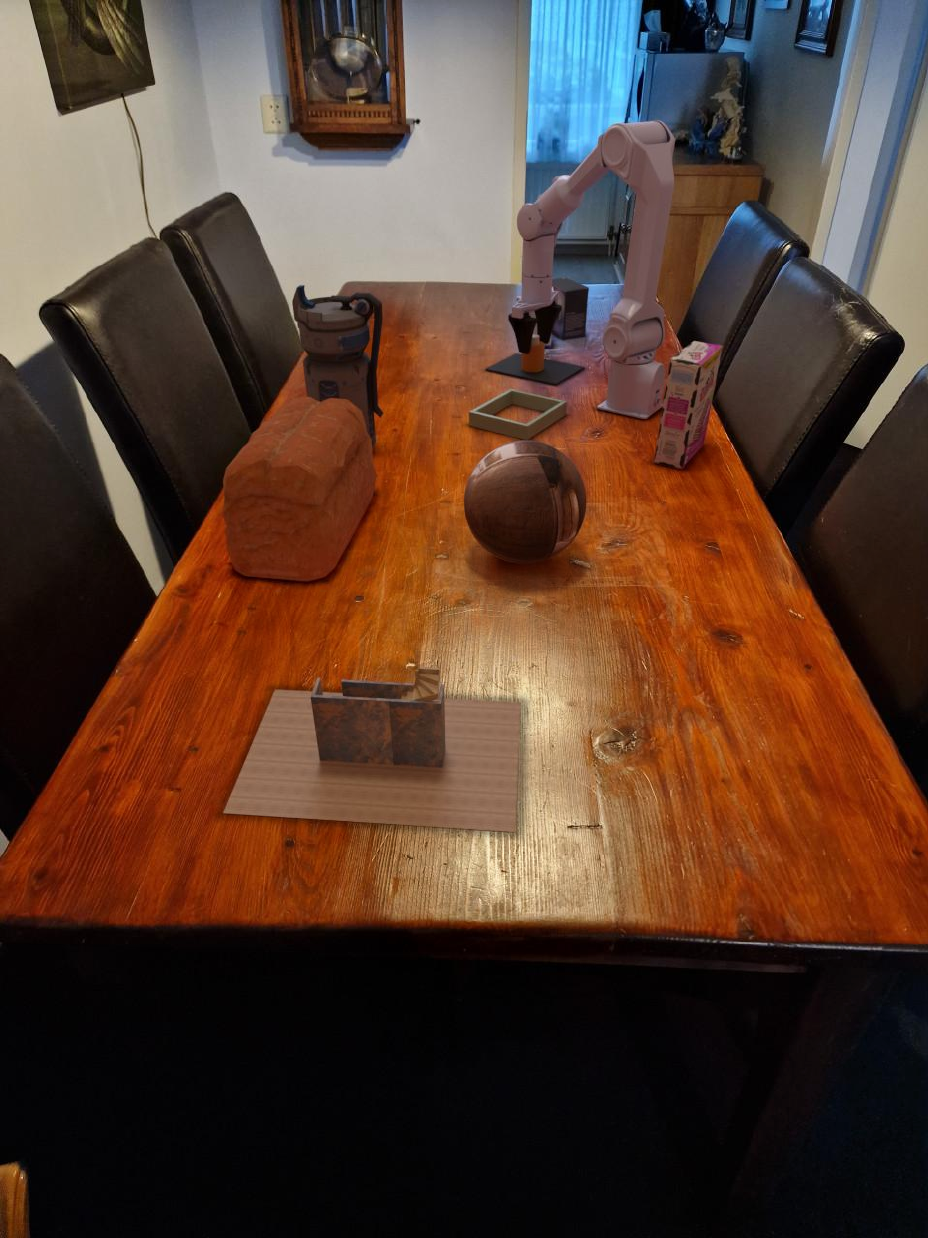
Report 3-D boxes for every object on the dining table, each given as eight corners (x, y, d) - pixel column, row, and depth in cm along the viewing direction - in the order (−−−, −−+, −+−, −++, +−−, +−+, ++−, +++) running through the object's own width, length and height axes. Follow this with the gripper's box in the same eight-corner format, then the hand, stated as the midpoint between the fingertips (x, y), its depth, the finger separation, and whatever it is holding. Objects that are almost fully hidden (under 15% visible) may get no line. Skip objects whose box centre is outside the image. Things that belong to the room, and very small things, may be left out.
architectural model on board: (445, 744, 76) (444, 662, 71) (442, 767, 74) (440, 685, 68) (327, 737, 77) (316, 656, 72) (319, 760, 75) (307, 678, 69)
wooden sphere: (447, 538, 108) (446, 431, 99) (550, 519, 112) (557, 414, 104) (490, 597, 97) (492, 481, 88) (602, 573, 101) (615, 461, 92)
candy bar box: (683, 471, 125) (701, 364, 115) (652, 464, 127) (667, 358, 118) (706, 445, 133) (724, 343, 123) (676, 439, 135) (692, 338, 125)
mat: (584, 368, 164) (584, 366, 164) (555, 385, 156) (555, 383, 156) (516, 354, 172) (516, 352, 171) (485, 370, 163) (485, 368, 163)
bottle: (547, 367, 163) (549, 334, 160) (536, 373, 160) (538, 340, 157) (528, 363, 165) (529, 331, 162) (517, 369, 162) (518, 336, 159)
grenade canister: (382, 466, 127) (370, 298, 112) (300, 460, 129) (279, 294, 114) (397, 440, 135) (389, 280, 120) (320, 435, 137) (303, 277, 122)
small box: (537, 327, 188) (540, 279, 182) (562, 324, 190) (565, 276, 184) (561, 339, 180) (564, 289, 174) (586, 336, 182) (590, 286, 176)
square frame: (566, 414, 144) (567, 401, 142) (527, 440, 135) (527, 426, 133) (510, 401, 149) (510, 388, 148) (468, 425, 140) (468, 411, 138)
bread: (222, 576, 101) (198, 463, 92) (292, 482, 122) (278, 383, 113) (331, 585, 99) (318, 471, 90) (383, 488, 120) (376, 388, 112)
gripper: (537, 264, 159) (534, 335, 167) (498, 279, 150) (497, 353, 157) (569, 268, 156) (565, 340, 164) (531, 284, 146) (528, 359, 154)
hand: (533, 347), depth 160 cm, fingers open, 7 cm apart
